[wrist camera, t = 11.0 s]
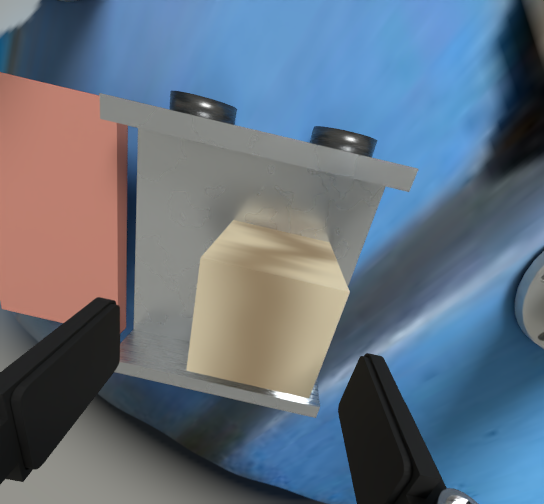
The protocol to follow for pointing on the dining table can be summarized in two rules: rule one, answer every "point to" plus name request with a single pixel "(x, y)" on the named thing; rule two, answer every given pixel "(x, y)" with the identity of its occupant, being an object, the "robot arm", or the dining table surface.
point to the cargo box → (266, 308)
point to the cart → (232, 218)
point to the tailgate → (60, 201)
